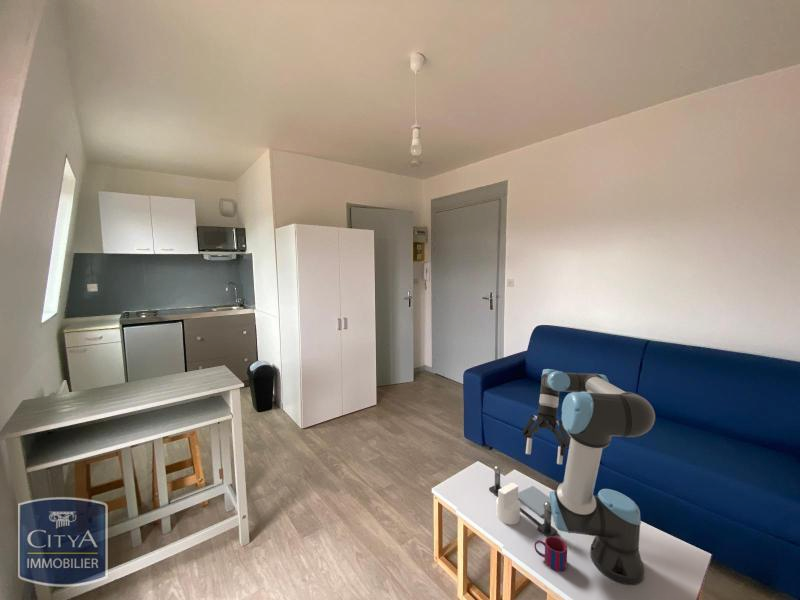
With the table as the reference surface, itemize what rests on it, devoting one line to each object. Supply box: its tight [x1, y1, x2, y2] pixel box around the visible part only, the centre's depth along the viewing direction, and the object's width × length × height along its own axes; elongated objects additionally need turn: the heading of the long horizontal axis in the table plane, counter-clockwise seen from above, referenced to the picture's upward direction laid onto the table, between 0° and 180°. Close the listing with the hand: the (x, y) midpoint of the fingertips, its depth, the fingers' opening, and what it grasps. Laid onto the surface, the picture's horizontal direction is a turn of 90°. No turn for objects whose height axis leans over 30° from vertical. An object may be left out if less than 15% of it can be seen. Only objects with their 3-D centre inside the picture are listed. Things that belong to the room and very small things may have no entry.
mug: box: [534, 536, 568, 572], centre depth 112 cm, size 7×10×7 cm
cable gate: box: [488, 465, 559, 538], centre depth 135 cm, size 31×5×12 cm, turn 28°
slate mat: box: [518, 485, 552, 518], centre depth 140 cm, size 14×12×1 cm
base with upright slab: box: [495, 482, 521, 526], centre depth 132 cm, size 9×9×12 cm
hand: (543, 459), depth 135 cm, fingers open, 13 cm apart
